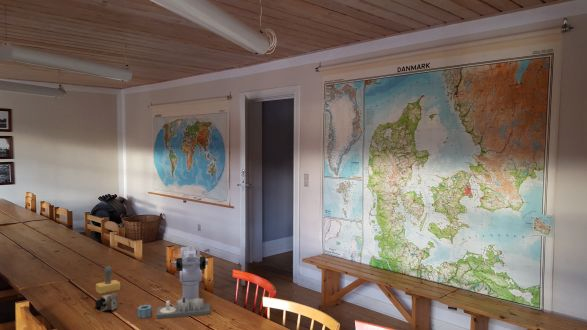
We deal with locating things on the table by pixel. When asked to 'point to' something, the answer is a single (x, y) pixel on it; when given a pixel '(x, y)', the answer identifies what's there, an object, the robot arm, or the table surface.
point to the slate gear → (144, 311)
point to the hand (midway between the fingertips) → (191, 267)
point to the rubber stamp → (107, 283)
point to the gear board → (184, 308)
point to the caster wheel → (107, 302)
